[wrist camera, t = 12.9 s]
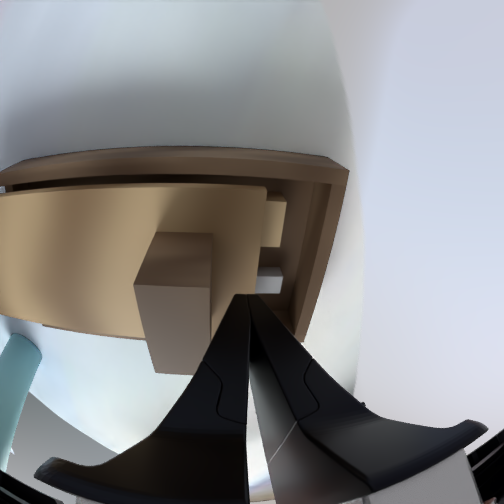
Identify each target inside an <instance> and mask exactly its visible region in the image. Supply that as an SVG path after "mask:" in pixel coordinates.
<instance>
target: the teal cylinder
mask: <svg viewBox="0 0 504 504" xmlns="http://www.w3.org/2000/svg"><path fill="white" fill-rule="evenodd" d="M41 359H42V355H41V353H40V351H39V350H38V348H37V347H36V346H35V345H34V344H33V343H32V342H31V341H30V340H28V339H27V338H25V337H24V336H22V335H20V334H16V333H14V334H12V335H11V337H10V339H9V341H8V342H7V344H6V346H5V348H4V350H3V352H2V354H1V356H0V470H2V471H4V472H5V473H6V468H7V462H8V458H9V454H10V449H11V445H12V441H13V437H14V434H15V430H16V427H17V423H18V420H19V417H20V414H21V411H22V408H23V405H24V402H25V399H26V396H27V393H28V391H29V388H30V386H31V383H32V381H33V378H34V376H35V373H36V371H37V368H38V366H39V364H40V362H41Z"/></svg>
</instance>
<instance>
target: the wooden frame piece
mask: <svg viewBox="0 0 504 504" xmlns="http://www.w3.org/2000/svg"><path fill="white" fill-rule="evenodd" d="M348 175H349V170H348V169H346V168H344V167H343V166H341V165H340V164H338V163H336V162H335V161H333V160H331V159H330V158H328V157H324V156H317V155H309V154H301V153H293V152H284V151H274V150H263V149H250V148H235V147H212V146H149V147H127V148H112V149H100V150H89V151H80V152H72V153H64V154H57V155H51V156H44V157H38V158H33V159H27V160H23V161H21V162H19V163H17V164H15V165H12V166H10V167H8V168H6V169H5V170H3V171H1V172H0V187H1V186H5V190H6V193H8V192H16V191H24V190H33V189H43V188H54V187H67V186H82V185H100V184H128V183H198V184H228V185H247V186H264V187H265V188H266V190H267V197H266V205H265V213H264V222H263V230H262V238H261V246H260V254H259V262H258V270H257V278H256V286H255V294H258V295H259V296H260V297H261V298H262V300H263V301H264V302H265V303H266V304H267V305H268V307H269V308H270V309H271V310H272V311H273V312H274V314H275V315H276V316H277V317H278V318H279V319H280V321H281V322H282V323H283V324H284V325H285V326H286V327H287V329H288V330H289V331H290V332H291V333H292V334H293V335H294V337H295V338H296V339H297V340H298V341H299V342H304V339H305V336H306V333H307V330H308V327H309V324H310V321H311V318H312V315H313V311H314V308H315V305H316V302H317V298H318V295H319V292H320V288H321V285H322V282H323V278H324V275H325V271H326V267H327V264H328V260H329V256H330V253H331V249H332V245H333V241H334V237H335V233H336V229H337V225H338V221H339V217H340V212H341V208H342V204H343V199H344V194H345V190H346V185H347V180H348ZM42 325H43V326H45V327H50V328H56V329H61V330H67V331H73V332H79V333H86V334H93V335H100V336H108V337H116V338H125V339H135V340H146V338H139V337H129V336H119V335H110V334H102V333H95V332H88V331H81V330H74V329H68V328H62V327H57V326H51V325H46V324H42Z"/></svg>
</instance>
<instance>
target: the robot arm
mask: <svg viewBox="0 0 504 504" xmlns="http://www.w3.org/2000/svg"><path fill="white" fill-rule="evenodd" d="M249 379H250V384H251V389H252V394H253V399H254V404H255V409H256V414H257V419H258V424H259V429H260V433H261V438H262V443H263V447H264V452H265V457H266V461H267V464H268V470H269V475H270V479H271V483H272V488H273V492H274V496H275V500H276V504H504V429H503V430H502V431H500V432H499V433H498V434H496V435H495V436H494V437H492V438H491V439H490V440H488V441H487V442H486V443H484V444H483V445H481V446H480V447H479V448H477V449H476V450H474V451H473V452H471V453H470V454H468V455H466V453H465V451H464V448H465V447H466V446H468V445H469V444H471V443H472V442H473V441H475V440H476V439H477V438H478V437H480V436H481V435H483V434H484V433H485V432H487V431H488V428H487V427H486V426H485V425H484V424H482V423H480V422H477V421H473V420H469V419H468V420H465V421H463V422H461V423H460V424H458V425H456V426H453V427H449V428H433V427H427V426H421V425H415V424H410V423H404V422H399V421H394V420H390V419H386V418H383V417H380V416H378V415H376V414H375V413H373V412H371V411H370V410H369V409H367V408H366V407H365V406H366V405H365V403H364V402H362V403H360V402H359V401H358V400H357V399H355V398H354V397H353V396H352V395H351V394H350V393H348V392H347V391H346V390H345V389H344V388H343V387H342V386H340V385H339V384H338V383H337V382H336V381H335V380H334V379H333V378H332V377H331V376H330V375H329V374H328V373H327V372H326V371H325V370H324V369H323V368H322V367H321V366H320V365H319V364H318V363H317V361H316V360H315V359H314V358H313V359H312V356H311V355H310V354H309V353H308V351H307V350H306V349H305V348H304V347H303V346H302V345H301V343H300V342H299V341H298V340H297V339H296V338H295V337H294V335H293V334H292V333H291V332H290V331H289V330H288V329H287V327H286V326H285V325H284V324H283V323H282V322H281V321H280V319H279V318H278V317H277V316H276V315H275V314H274V312H273V311H272V310H271V309H270V308H269V307H268V305H267V304H266V303H265V302H264V301H263V300H262V298H261V297H260V296H259V295H258V294H234V296H233V298H232V300H231V302H230V304H229V306H228V308H227V310H226V312H225V314H224V316H223V318H222V320H221V322H220V324H219V326H218V328H217V330H216V332H215V334H214V336H213V338H212V340H211V342H210V344H209V346H208V348H207V350H206V352H205V354H204V357H203V359H202V361H201V362H200V364H199V366H198V368H197V370H196V372H195V374H194V376H193V377H192V379H191V381H190V383H189V384H188V386H187V387H186V389H185V390H184V392H183V393H182V395H181V396H180V397H179V399H178V400H177V402H176V403H175V404H174V406H173V407H172V408H171V410H170V411H169V413H168V414H167V415H166V417H165V418H164V419H163V421H162V422H161V423H160V424H159V426H158V427H157V428H156V429H155V430H154V431H153V432H152V433H151V434H150V435H149V436H148V437H146V438H145V439H143V440H142V441H140V442H139V443H137V444H135V445H134V446H132V447H131V448H129V449H127V450H126V451H124V452H122V453H121V454H119V455H117V456H116V457H114V458H112V459H110V460H109V461H107V462H105V463H103V464H100V465H95V466H84V465H79V464H76V463H73V462H70V461H67V460H64V459H61V458H56V457H51V458H50V459H49V460H47V461H46V462H45V463H44V464H42V465H41V466H40V467H39V468H38V469H37V471H36V472H35V474H34V478H36V479H38V480H40V481H42V482H44V483H46V484H48V485H50V486H52V487H55V488H57V489H59V490H62V491H64V492H66V493H69V494H71V495H74V496H76V504H250V498H249V483H248V467H247V450H246V429H247V427H246V425H247V407H248V385H249ZM0 504H64V503H63V502H62V501H60V500H58V499H55V498H53V497H51V496H48V495H46V494H44V493H42V492H40V491H38V490H36V489H34V488H32V487H30V486H28V485H26V484H24V483H23V482H21V481H19V480H17V479H16V478H14V477H12V476H10V475H9V474H7V473H5V472H4V471H2V470H0Z"/></svg>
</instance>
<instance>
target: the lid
mask: <svg viewBox="0 0 504 504" xmlns="http://www.w3.org/2000/svg"><path fill="white" fill-rule="evenodd" d="M266 197H267V190H266V188H265V187H264V186H247V185H228V184H198V183H128V184H100V185H82V186H67V187H54V188H43V189H33V190H24V191H16V192H8V193H1V194H0V314H1V315H5V316H9V317H14V318H18V319H22V320H27V321H31V322H36V323H41V324H46V325H51V326H57V327H62V328H68V329H74V330H81V331H88V332H95V333H102V334H110V335H119V336H129V337H139V338H146V342H147V346H148V349H149V353H150V356H151V360H152V363H153V366H154V369H155V373H164V374H179V375H194V374H195V372H196V370H197V368H198V366H199V364H200V362H201V361H202V359H203V357H204V354H205V352H206V350H207V348H208V346H209V344H210V342H211V340H212V338H213V336H214V334H215V332H216V330H217V328H218V326H219V324H220V322H221V320H222V318H223V316H224V314H225V312H226V310H227V308H228V306H229V304H230V302H231V300H232V298H233V296H234V294H255V286H256V278H257V270H258V262H259V254H260V246H261V238H262V230H263V222H264V213H265V205H266Z"/></svg>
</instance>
